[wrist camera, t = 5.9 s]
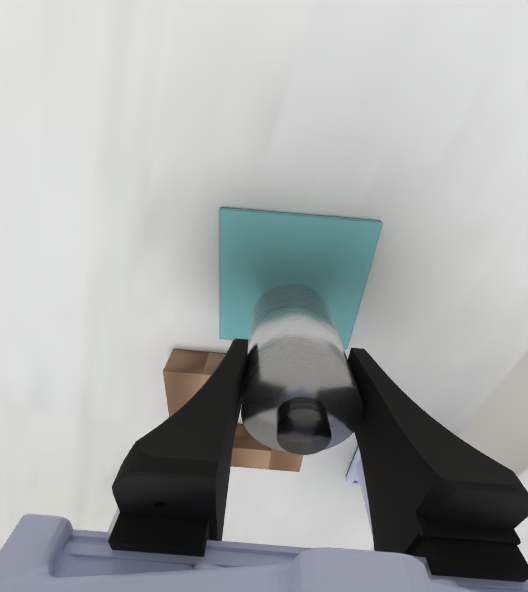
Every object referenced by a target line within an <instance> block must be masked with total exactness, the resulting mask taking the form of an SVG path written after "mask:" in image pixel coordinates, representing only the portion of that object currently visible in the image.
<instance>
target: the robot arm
mask: <svg viewBox="0 0 528 592" xmlns="http://www.w3.org/2000/svg"><path fill="white" fill-rule="evenodd" d="M247 355H248V339H237V338H236V339H234V340H233V342H232V344H231V346H230V348H229V350H228V352H227V353H226V355H225V357H224V358H223V360H222V361H221V363H220V364H219V365H218V367H217V368H216V370H215V371H214V372H213V374H212V375H211V376H210V377H209V379H208V380H207V381H206V382H205V384H204V385H203V386H202V387H201V388H200V389H199V390H198V391H197V392H196V393H195V395H194V396H193V397H192V398H191V399H190V400H188V401H187V402H186V403H185V404H184V405H183V406H182V407H181V408H180V409H179V410H178V411H177V412H175V413H174V414H173V415H172V416H170V417H169V418H168V419H167V420H165V421H164V422H163V423H162V424H160V425H159V426H158V427H156V428H155V429H154V430H152V431H151V432H149V433H148V434H146V435H145V436H144V437H142V438H141V439H139V440H138V441H136V442H135V444H134V445H133V447H132V448H131V450H130V451H129V453H128V455H127V456H126V458H125V460H124V461H123V463H122V465H121V467H120V470H119V472H118V474H117V477H116V479H115V481H114V483H113V486H112V490H113V494H114V497H115V500H116V503H117V505H118V508H119V511H120V513H119V515H118V518H117V520H116V522H115V525H114V527H113V530H112V532H100V531H87V530H75V529H73V528H72V525H71V523H70V521H69V520H68V519H66V518H63V517H59V516H50V515H38V514H26V515H24V516H23V517H22V518H21V520H20V521H19V523H18V524H17V526H16V528H15V529H14V531H13V532H12V534H11V535H10V537H9V538H8V540H7V541H6V543H5V544H4V546H3V547H2V549H1V550H0V592H528V564H527V562H526V560H525V559H524V557H523V555H522V553H521V552H520V550H519V548H518V546H517V545H519V544H520V543H521V542H520V539H519V537H518V535H517V533H516V532H515V530H514V528H515V527H516V526H518V525H519V524H520V523H521V522H522V521H523V520H524V519H525V518H527V517H528V492H527V490H526V489H525V487H524V486H523V485H522V483H521V482H520V480H519V479H518V477H517V476H516V475H515V473H514V472H513V471H512V470H510V469H508V468H507V467H505V466H503V465H501V464H500V463H498V462H496V461H495V460H493V459H491V458H490V457H488V456H486V455H484V454H483V453H481V452H480V451H478V450H476V449H475V448H473V447H472V446H470V445H469V444H467V443H466V442H464V441H463V440H461V439H460V438H459V437H457V436H456V435H454V434H453V433H452V432H450V431H449V430H448V429H446V428H445V427H444V426H442V425H441V424H440V423H438V422H437V421H436V420H434V419H433V418H432V417H431V416H429V415H428V414H427V413H426V412H425V411H424V410H422V409H421V408H420V407H419V406H418V405H417V404H416V403H414V402H413V401H412V400H411V399H410V398H409V397H408V396H407V395H406V394H405V393H404V392H403V391H402V390H401V389H400V388H399V387H398V386H397V385H396V384H395V383H394V382H393V381H392V380H391V379H390V378H389V377H388V375H387V374H386V373H385V372H384V371H383V370H382V369H381V368H380V366H379V365H378V364H377V363H376V362H375V361H374V360H373V358H372V357H371V356H370V355H369V354H368V353H367V352H366V350H365V349H359V348H351V351H350V354H349V358H348V363H349V365H350V368H351V371H352V374H353V377H354V380H355V382H356V385H357V388H358V391H359V394H360V397H361V399H362V403H363V416H362V419H361V422H360V424H359V426H358V427H357V429H356V430H355V431H354V432H355V436H356V439H357V443H358V449H357V451H356V454H355V456H354V459H353V462H352V464H351V467H350V469H349V472H348V474H347V477H346V482H347V483H349V484H359V485H361V489H362V493H363V498H364V502H365V506H366V510H367V515H368V519H369V523H370V528H371V532H372V536H373V541H374V550H375V551H367V550H354V549H342V548H301V547H288V546H276V545H263V544H251V543H238V542H225V541H222V534H223V525H224V516H225V508H226V499H227V491H228V483H229V474H230V466H231V458H232V450H233V443H234V437H235V432H236V427H237V423H238V418H239V414H240V409H241V404H242V398H243V389H244V380H245V372H246V364H247Z"/></svg>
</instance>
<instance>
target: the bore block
mask: <svg viewBox="0 0 528 592" xmlns="http://www.w3.org/2000/svg"><path fill="white" fill-rule="evenodd" d="M225 355H226V354H223V353H211V352H199V351H187V350H175V349H173V351H172V353H171V355H170V357H169V359H168V361H167V364H166V366H165V368H164V370H163V375H164V382H165V389H166V396H167V403H168V411H169V417H170V416H172V415H173V414H174V413H175V412H177V411H178V410H179V409H180V408H181V407H182V406H183V405H184V404H185V403H186V402H187V401H188V400H190V399H191V398H192V397H193V396H194V395H195V393H196V392H197V391H198V390H199V389H200V388H201V387H202V386H203V385H204V384H205V382H206V381H207V380H208V379H209V377H210V376H211V375H212V374H213V372H214V371H215V370H216V368H217V367H218V365H219V364H220V363H221V361H222V360H223V358H224V357H225ZM302 458H303V455H298V454H293V453H290V452H283V451H279V450H276V449H273V448H270V447H268V446H266V445H264V444H262V443H260V442H259V441H257V440H256V439H255V438H253V437H252V436H251V435H250V434H249V432H248V431H247V430H246V428H245V426H244V424H237V427H236V432H235V437H234V443H233V450H232V458H231V466H234V467H246V468H258V469H270V470H283V471H295V472H299V471H300V466H301V462H302Z"/></svg>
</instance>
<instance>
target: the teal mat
mask: <svg viewBox="0 0 528 592" xmlns="http://www.w3.org/2000/svg"><path fill="white" fill-rule="evenodd" d="M382 224H383V223H382V222H381V221H379V220H367V219H355V218H343V217H331V216H319V215H307V214H296V213H284V212H272V211H260V210H248V209H236V208H224V207H221V208H220V209H219V295H220V339H226V340H234V339H236V338H237V339H248V341H249V335H250V326H251V317H252V311H253V308H254V306H255V304H256V302H257V301H258V300H259V298H260V297H261V296H262V295H263V294H265V293H266V292H267V291H269V290H271V289H273V288H275V287H278V286H281V285H286V284H298V285H304V286H307V287H309V288H312V289H314V290H315V291H317V292H318V293H319V294H320V295H322V297H323V298H324V299H325V300H326V302H327V304H328V306H329V309H330V312H331V314H332V317H333V320H334V323H335V326H336V329H337V331H338V334H339V337H340V340H341V343H342V346H343V348H344V349H347V348H348V344H349V341H350V337H351V334H352V330H353V327H354V323H355V320H356V316H357V313H358V309H359V306H360V302H361V298H362V295H363V291H364V288H365V284H366V281H367V277H368V274H369V270H370V267H371V263H372V260H373V256H374V253H375V249H376V245H377V242H378V238H379V235H380V231H381V228H382Z"/></svg>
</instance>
